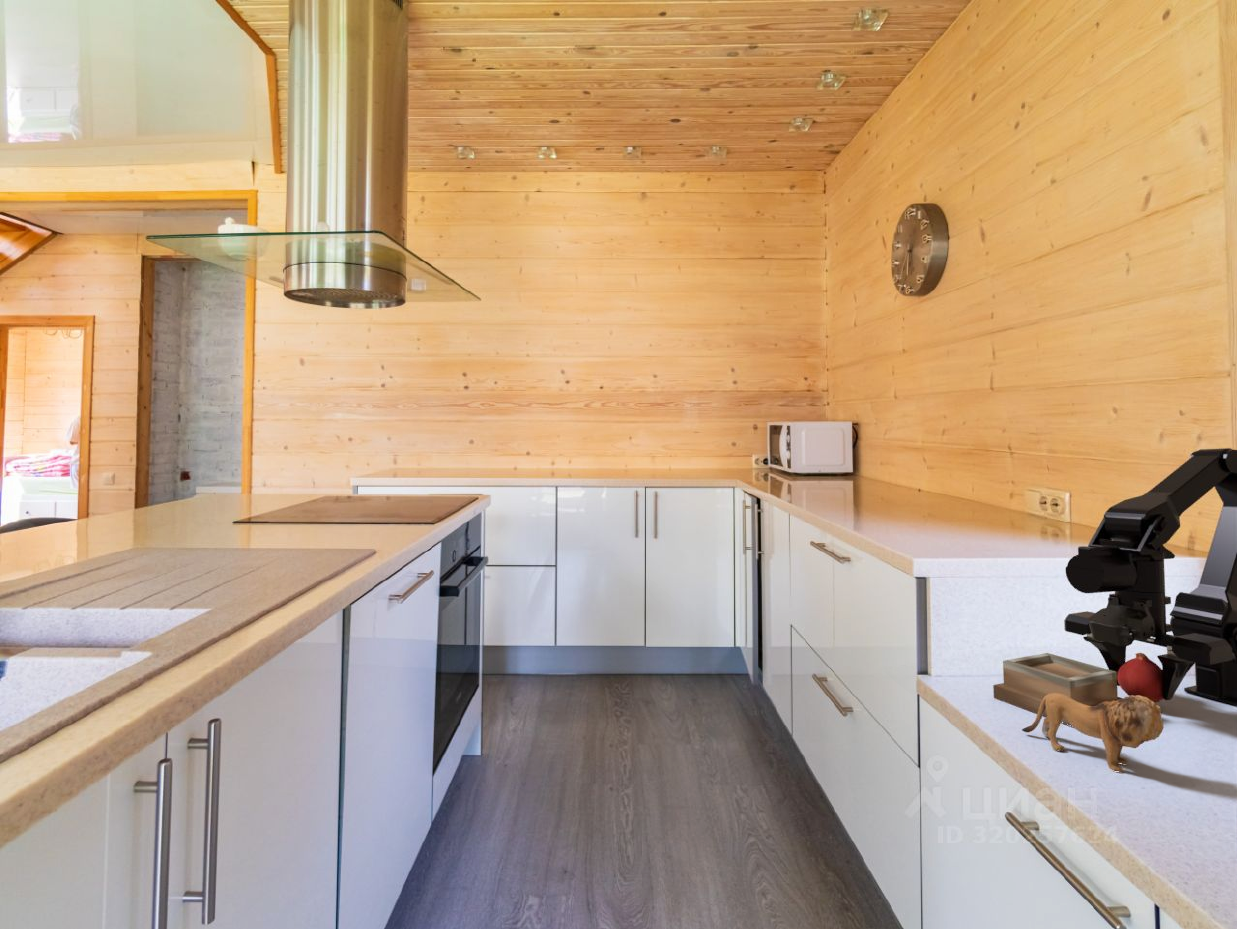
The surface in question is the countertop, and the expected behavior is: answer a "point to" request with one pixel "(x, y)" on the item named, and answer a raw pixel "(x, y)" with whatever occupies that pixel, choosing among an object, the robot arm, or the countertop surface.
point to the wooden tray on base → (1054, 682)
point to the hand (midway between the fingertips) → (1142, 692)
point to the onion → (1141, 678)
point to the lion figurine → (1103, 722)
